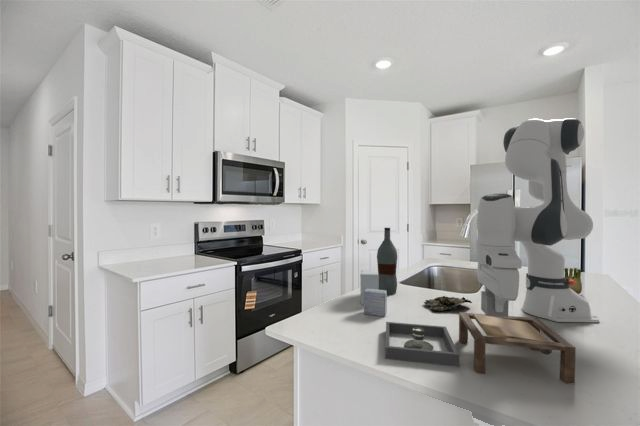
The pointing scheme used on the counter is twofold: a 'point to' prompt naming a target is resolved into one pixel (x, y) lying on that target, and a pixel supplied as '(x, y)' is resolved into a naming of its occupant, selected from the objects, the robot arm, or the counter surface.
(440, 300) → the decorative rock
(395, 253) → the bottle
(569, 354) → the trapdoor frame
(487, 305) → the stone block
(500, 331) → the trapdoor
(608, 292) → the counter surface
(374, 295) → the medicine box
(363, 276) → the supplement box
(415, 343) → the grey knobbed disc
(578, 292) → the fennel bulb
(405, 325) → the cup mat rim
